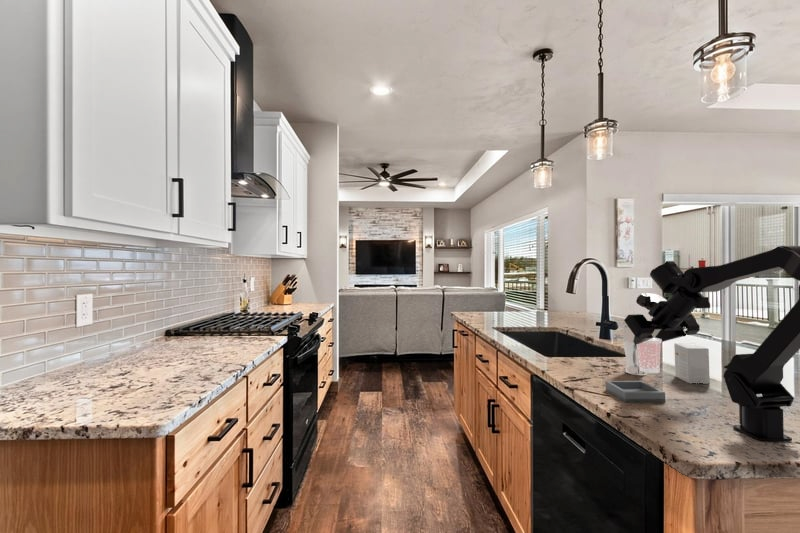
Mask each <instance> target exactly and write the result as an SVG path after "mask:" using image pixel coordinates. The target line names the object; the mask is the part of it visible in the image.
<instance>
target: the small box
mask: <svg viewBox="0 0 800 533" xmlns="http://www.w3.org/2000/svg"><path fill="white" fill-rule="evenodd" d="M673 348H674V373H675V375H674V376H675V377H676V378H678V379H680V380H682V381H684V382H685V383H687V384H692V383H696V385H700V384H699V383H703V384H704V385H710V384H711V383H710V382H711V381H710V380H711V379H710V355H709V354H710V351H709V348H707V347H705V346H702V345H698V344H696V343H682V342H681V343H680V342H678V343H674V347H673ZM697 383H698V384H697ZM703 384H702V385H703Z"/></svg>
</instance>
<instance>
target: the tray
mask: <svg viewBox="0 0 800 533" xmlns="http://www.w3.org/2000/svg"><path fill="white" fill-rule="evenodd" d="M605 391H607V392H608V393H610V394H611V395H613V396H615V397H616V398H618V399H619V400H621V401H623V402H624V403H666V392H665V391H664V390H661V389H659V388H657V387H655V386H653V385H651V384H649V383H647V382H645V381H643V380H606V381H605Z"/></svg>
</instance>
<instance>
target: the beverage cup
mask: <svg viewBox="0 0 800 533" xmlns="http://www.w3.org/2000/svg"><path fill="white" fill-rule="evenodd" d="M661 341H662V339H659V338H655V337H653V338H652V339H649V340H647V341H645V342H642V343H640V344H637V346H638V356H639V366H640V371H642V372H647V374H648V373H649V374H659V373H660V371H661V347H662V346H661V345H662V343H663V342H661Z"/></svg>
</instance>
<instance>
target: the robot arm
mask: <svg viewBox="0 0 800 533" xmlns="http://www.w3.org/2000/svg"><path fill="white" fill-rule="evenodd" d="M781 270H783V271H785V272H786V273H787V274H788V275H789V276H790V277H791V278H793V279H795V280H796V281H799V282H800V245H779V246H776V247H774V248H772V249H770V250H767V251H766V250H765V251H764V252H760V253H757V254H753V255H750V256H746V257H744V258H740V259H738V260H734V261H731V262H726V263H724V264H720V265H719V264H718V265H714V266H713V265H712V266H711V265H710V266H698V267H690V268H688V269H686V270H685V271H684V272H683V271H682V270H681V268H680V267H679V266H678V265H677V263H676V262H675V261H673V260H668V261H667V260H666V261H665V262H664V263H663V264H660V265H659V266H656V267H654V268H653V269H651V271H650V273H649V277H650V278H651V279H652V281H653V282H654V283H655V284H656V285H657V286H658V287H659V289H660V290H661V291H662V292H663V293H664V294H671V295H670V296H669V297H668V298H667V299H666V298H665V297H663V296H661V295H659V294H658V293H640V294H639V295H638V296H637V297H636V301H635V302H636V304H638V305H639V306H640V307H642V308H645V309H646V310H648V313H647V314H648V315H649V316H650V317H651V319H650V320H648V318H646V316H645V315H644V314H642V313H641V314H639V313H637V314H635V313H634V314H628V315H626V317H625V318H624V320H623V321H624V322H625V324H626V326H628V327H629V328H630V330H631V331H632V332H633V334H634V335H635V336H634V340H633V342H634V344H635V345H637V344H640V343H642V342H645V341H647V340H649V339H652V338H659V339H662V341H661V342H662V343H663V342H667V341H670V340H674V339H678V338H681V337H686V336H693V335H694V336H695V335H697V333H699V331H700V330H701V329H700V324H699V323H698V322H697V321H696V320H695V319H694V318H693V316H692V315H691V314H692V312H693V311H695V310H696V309H710V308H711V303H710V300H709V297H708V296H704V295H703V294H702V293H717V292H719V291H722V290H725V289H726V288H729V287H730V286H732V285H733V283H735V282H738V281H741V280H746V279H749V278H754V277H758V276H762V275H765V274H771V273H773V272H777V271H781ZM658 330H659V331H658ZM655 331H658V332H657V334H656V335H655V336H654V335H653V334H654V332H655ZM700 332H701V331H700ZM799 350H800V284H799V285H798V300H797V301H796V302H795V304H794V305H793V306H792V307H791V309H790V310H788V312H787V313H786V314H785V315H784V316H783V318H782V319H781V320H780V321H779V322H778V323H777V325H776V326H775V327H774V328H773V329H772V331H771V332H770V333H769V334H768V336H767V337H766V338H765V339H764V340H763V341H762V343H761V344H760V345H759V346H758V347H757V348H756V349H755V350H754V352H753V353H739V354H737V353H735V354H734V356H732V358H731V360H730V361H729V363H728V364H727V365H723V368H724V369H725V370H724V372H723V376H722V377H723V378H724V382H725V385H726V389H727V391H728V394H729V397H730V399H731V402H733V403H735V404H737V405H738V406H739V407H738V409H739V410H738V412H739V424H734V425H732V428H733V429H735V430H736V431H739V432H741V433H743V434H745V435H747V436H749V437H752V438H753V439H755V440H757V441H760V442H761V441H762V442H763V441H764V442H765V441H766V442H767V441H768V442H774V441H775V442H777V441H778V442H779V441H780V442H781V441H782V442H784V441H785V442H787V441H789V442H791V441H793V437H791V436H789V435H787V434H784V432H785V431H784V428H785V427H784V409H783V407H788V408H789V407H791V406H792V404H793V402H794V400H795V398H794V396H793V395H792V394H791V392H789V390H787V389H786V387H785V386H784V385H783V384H782V383H781V382H782V381H783V379H784V366H785V365H786V364H787V363H788V362H789V361H790V360H791V359H792V358H793V357H794V356H795V354H797V353H798V351H799ZM758 395H761V396H758ZM781 407H782V408H781Z"/></svg>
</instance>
